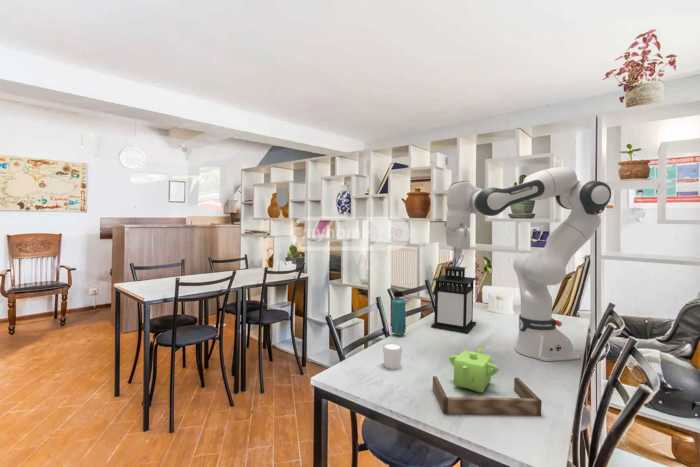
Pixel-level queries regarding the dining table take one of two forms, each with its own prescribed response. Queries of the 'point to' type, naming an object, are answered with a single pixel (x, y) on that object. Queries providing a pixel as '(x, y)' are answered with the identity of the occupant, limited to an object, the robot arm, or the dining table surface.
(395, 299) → the beverage bottle
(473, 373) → the teapot
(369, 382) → the dining table surface
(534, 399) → the frame
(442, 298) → the lantern
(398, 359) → the white cylinder
